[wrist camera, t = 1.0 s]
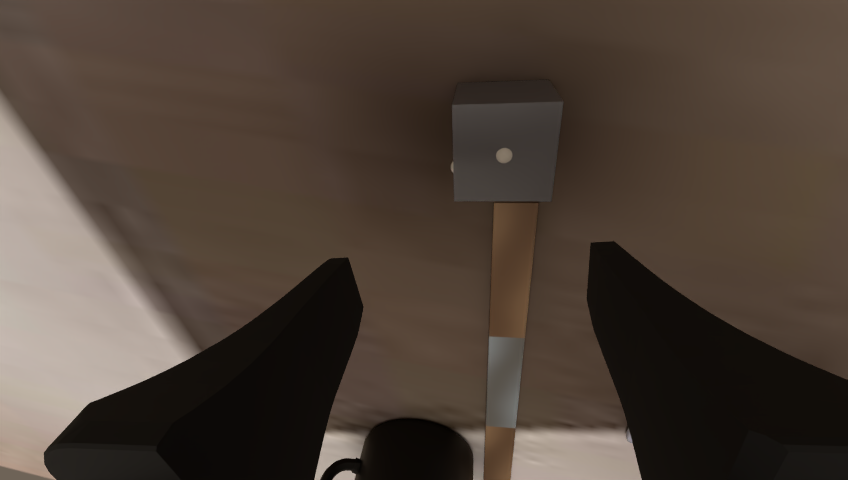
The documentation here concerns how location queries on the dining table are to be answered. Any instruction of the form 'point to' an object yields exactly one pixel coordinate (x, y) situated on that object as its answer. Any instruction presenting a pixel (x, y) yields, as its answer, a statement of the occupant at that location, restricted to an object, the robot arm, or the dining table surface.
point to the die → (505, 140)
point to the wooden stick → (507, 328)
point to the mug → (409, 454)
